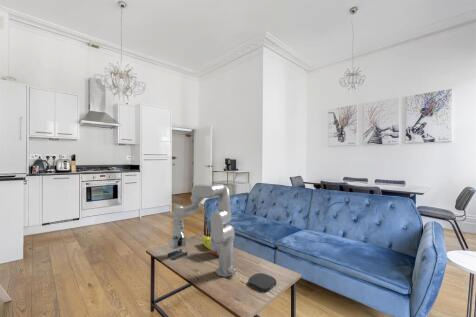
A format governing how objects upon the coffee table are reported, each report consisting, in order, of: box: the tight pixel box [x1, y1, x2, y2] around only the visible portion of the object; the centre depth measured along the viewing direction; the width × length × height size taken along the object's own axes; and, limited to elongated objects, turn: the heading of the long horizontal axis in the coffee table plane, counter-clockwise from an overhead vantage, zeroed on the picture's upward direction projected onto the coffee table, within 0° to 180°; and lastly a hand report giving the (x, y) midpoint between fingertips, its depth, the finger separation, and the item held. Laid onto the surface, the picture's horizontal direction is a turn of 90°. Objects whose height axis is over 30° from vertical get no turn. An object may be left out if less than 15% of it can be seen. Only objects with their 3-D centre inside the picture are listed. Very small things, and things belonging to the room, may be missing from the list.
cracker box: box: [209, 227, 219, 257], centre depth 175 cm, size 14×6×21 cm, turn 53°
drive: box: [169, 235, 187, 250], centre depth 171 cm, size 5×11×7 cm, turn 138°
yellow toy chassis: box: [202, 235, 210, 251], centre depth 189 cm, size 16×6×8 cm, turn 31°
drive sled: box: [167, 248, 188, 261], centre depth 171 cm, size 9×12×2 cm
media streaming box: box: [247, 272, 277, 293], centre depth 134 cm, size 15×15×3 cm
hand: (177, 244), depth 171 cm, fingers closed on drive, 5 cm apart
